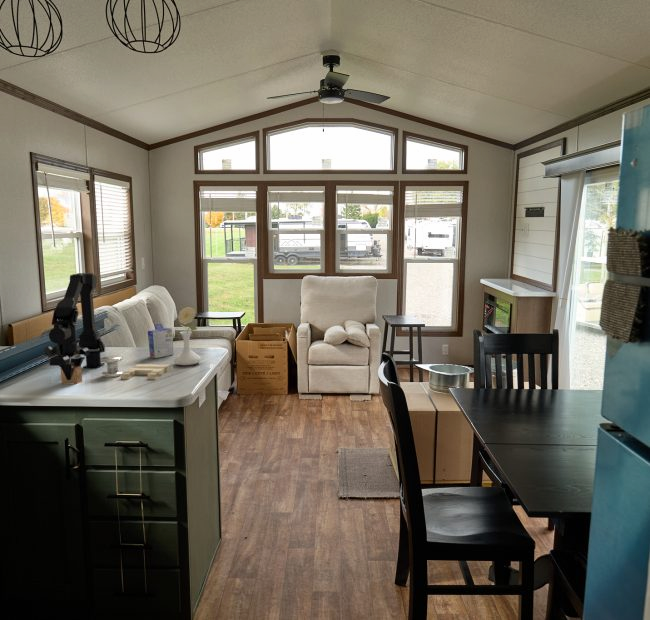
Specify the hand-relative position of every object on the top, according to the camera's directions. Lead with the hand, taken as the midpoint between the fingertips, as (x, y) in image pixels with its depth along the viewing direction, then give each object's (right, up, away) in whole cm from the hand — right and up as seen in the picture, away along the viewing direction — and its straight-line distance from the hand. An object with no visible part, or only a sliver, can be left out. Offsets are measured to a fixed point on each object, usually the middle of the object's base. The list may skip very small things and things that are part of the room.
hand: (71, 378), depth 218 cm
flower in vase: (+38, +3, +26) cm, 46 cm away
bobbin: (+12, 0, +10) cm, 16 cm away
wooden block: (0, -2, 0) cm, 2 cm away
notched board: (+25, +1, +11) cm, 27 cm away
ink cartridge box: (+22, +5, +43) cm, 48 cm away
